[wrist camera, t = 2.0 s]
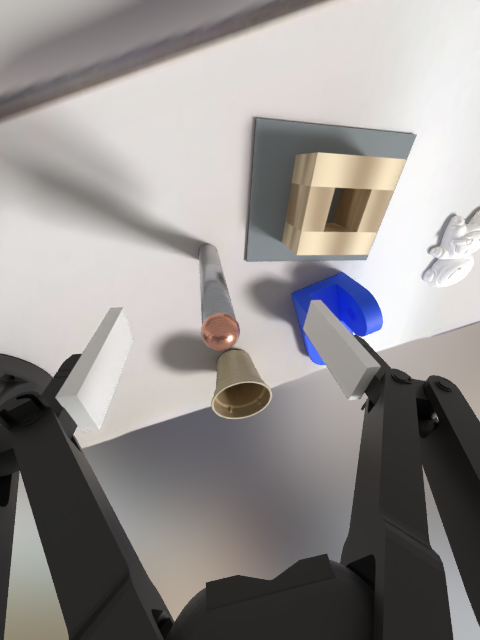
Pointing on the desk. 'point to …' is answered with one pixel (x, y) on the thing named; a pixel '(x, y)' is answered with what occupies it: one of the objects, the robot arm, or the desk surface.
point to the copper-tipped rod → (216, 303)
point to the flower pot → (239, 387)
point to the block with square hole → (354, 206)
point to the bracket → (339, 307)
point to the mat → (277, 170)
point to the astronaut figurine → (454, 252)
